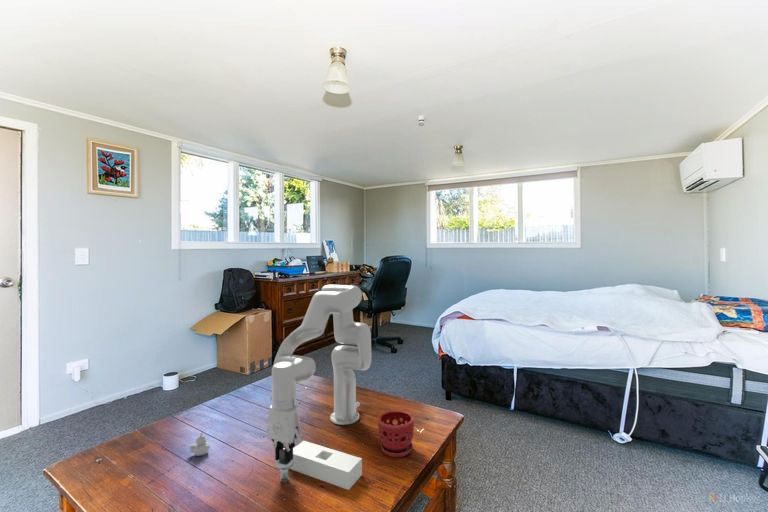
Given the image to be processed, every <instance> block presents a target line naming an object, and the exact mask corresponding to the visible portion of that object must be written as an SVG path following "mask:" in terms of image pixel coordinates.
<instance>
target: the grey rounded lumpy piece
mask: <svg viewBox="0 0 768 512" xmlns="http://www.w3.org/2000/svg"><path fill="white" fill-rule="evenodd" d="M195 439H196V440H195V443H191V444H190V445H189V446H188V447H189V452H190V453H193V454H194V455H195V456H197V457H198V456H199V457H200V456H201V457H202V456H204V455H206V454H207V453H208V451H209V449H210V448H211V447H210V444H209V443H208V437H206V435H205V434H203V432H201V434H200V435H198V436H197V438H195Z"/></svg>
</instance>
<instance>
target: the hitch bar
mask: <svg viewBox="0 0 768 512" xmlns="http://www.w3.org/2000/svg"><path fill="white" fill-rule="evenodd" d="M301 441H302V443H300V444H299V445H297V446H295V447H294V448H293V458H294V464H293V466H292V467H290V468H289V470H292V471H295V472H297V473H300V474H304V475H306V476H308V477H312V478H314V479H317V480H320V481H323V482H324V483H327V484H330V485H334V486H337V487H340V488H342V489H345V490H348V491H349V490H351V488H352V487H353V486H354V485H355V483H357V481H358V480H359V479H360V477H362V475H363V458H361V457H358V456H355V455H352V454H348V453H346V452H343V451H339V450H336V449H332V448H329V447H326V446H322V445H320V444H316V443H313V442H309V441H306V440H301Z"/></svg>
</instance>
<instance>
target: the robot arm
mask: <svg viewBox="0 0 768 512" xmlns="http://www.w3.org/2000/svg"><path fill="white" fill-rule="evenodd" d="M362 293H363V292H362V290H361V288H360V287H359V286H357V285H352V284H350V285H349V284H326V285H324V286H322V288H321V289H320V291H317V292H316V293H314V294H313V296H312V297H311V301H310V302H309V305H308V308H307V310H306V313H305V315H304V318H303V320H302V322H301V325H300V326H298V327H297V328H296V329H294V330H293V331H292V332H290V334H289V335H288V336H287V337H286V338H285V339H283V341H282V342H281V344H280V346H279V348H278V350H277V352H276V355H275V357H274V361H273V365H272V367H271V396H270V398H269V399H270V401H271V405H270V406H269V409H268V413H267V422H266V423H267V424H266V425H267V426H266V436H267V437H268V438H269V439H270V440H271V442H272V443H273V448H274V449H275V450H274V451H275V455H274V456H275V457H274V459H275V460H279V448H280V447H282V446H286V451H285V464H287V463H289V462H290V461H291V460H292V459H293V448H294V447H296V446H297V445H299V444H300V443H302V441H303V440H302V439H301V436H300V434H301V423H300V413H299V408H298V406H297V383H300V382H303V381H307V380H309V379H310V378H312V377H313V375H314V374H315V372H316V367H317V365H316V364H317V363H316V362H315V360H314V359H313V358H311V357H309V356H303V355H297V354H294V351H295V350H296V349H297V348H298V347H299V346H300V345H301V344H303V343H305V342H309V341H311V340H313V339H317V338H318V337H321V336H322V335H323V334H324V333H325V329H326V328H327V324H328V321H329V318H330V316H331V315H332V317H333V322H332V323H333V334H334V335H333V336H334V340H335V342H336V343H338V344H342V345H337V346H335V347H334V348H333V349H332V351H331V354H330V355H331V356H330V357H331V358H330V359H331V364H332V368H333V412H332V413H331V414H330V416H329V417H330V422H332V423H333V424H336V425H338V426H339V425H341V426H344V425H345V426H346V425H347V426H348V425H352V424H354V423H356V422H358V420H359V419H360V413H359V412H358V411H357V409H358V407H359V406H360V405H361V402H359V401H357V400H356V399H357V398H356V396H357V395H356V394H357V393H356V392H357V390H356V389H357V387H356V386H357V385H356V383H357V379H356V374H355V372H354V371H367V370H369V369H370V367H371V364H372V335H371V333H372V332H371V329H370V326H369V325H368V323H365V322H358V321H357V322H356V321H354V313H353V311H354V310H353V309H354V308H356V307H358V305H359V304H360V303H361V301H362V295H363V294H362ZM275 460H274V461H275Z"/></svg>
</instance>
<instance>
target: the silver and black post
mask: <svg viewBox="0 0 768 512" xmlns="http://www.w3.org/2000/svg"><path fill="white" fill-rule="evenodd" d="M285 451H286V445H284V446H282V447H280V448H279V460H274V462H273V463H274V464H273V465H274V468H275V469H276V470H279V482H280V483H287V482H288V481H289V480H290V477H289V476H290V473H289V472H290V469H289V468H290V467H292V466H293V464H294V458H293V459H292V460H291V461H290V462H289V463H287V464H285Z"/></svg>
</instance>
